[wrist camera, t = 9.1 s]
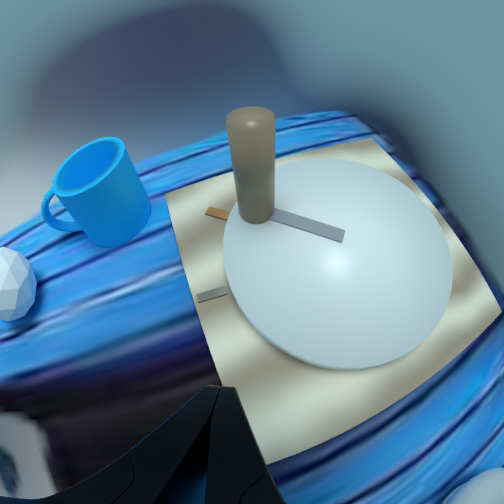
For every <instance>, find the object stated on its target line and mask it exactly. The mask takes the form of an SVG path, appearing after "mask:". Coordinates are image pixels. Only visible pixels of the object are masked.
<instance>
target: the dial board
mask: <svg viewBox="0 0 504 504" xmlns="http://www.w3.org/2000/svg"><path fill="white" fill-rule="evenodd" d="M314 158H335V159H344V160H349V161H355V162H358V163H362V164H365V165H368V166H371V167H374V168H376V169H379V170H381V171H383V172H385V173H387V174H389V175H390V176H392V177H394V178H395V179H397V180H399V181H400V182H402V183H403V184H404V185H406V186H407V187H408V188H410V189H411V190H412V191H413V192H414V193H415V194H416V195H417V196H418V197H419V198H420V199H421V200H422V201H423V202H424V203H425V204H426V205H427V207H428V208H429V209H430V211H431V212H432V213H433V215H434V216H435V218H436V219H437V221H438V223H439V225H440V226H441V228H442V230H443V233H444V235H445V237H446V240H447V243H448V246H449V250H450V254H451V260H452V273H453V279H452V289H451V294H450V298H449V302H448V305H447V307H446V310H445V312H444V314H443V317H442V318H441V320H440V321H439V323H438V325H437V326H436V328H435V329H434V330H433V332H432V333H431V334H430V335H429V336H428V337H427V338H426V339H425V340H424V341H423V342H422V343H421V344H420V345H418V346H417V347H416V348H415V349H413V350H412V351H410V352H408V353H406V354H405V355H403V356H401V357H399V358H397V359H395V360H393V361H391V362H388V363H385V364H382V365H380V366H377V367H372V368H367V369H362V370H334V369H325V368H321V367H317V366H314V365H310V364H307V363H304V362H302V361H300V360H297V359H295V358H293V357H290V356H289V355H287V354H285V353H284V352H282V351H280V350H279V349H277V348H276V347H274V346H273V345H272V344H270V343H269V342H268V341H267V340H266V339H264V338H263V337H262V336H261V335H260V334H259V333H258V332H257V331H256V330H255V329H254V328H253V326H252V325H251V324H250V323H249V322H248V320H247V319H246V318H245V316H244V315H243V313H242V312H241V310H240V309H239V307H238V305H237V303H236V301H235V299H234V296H233V294H232V292H231V288H230V285H229V282H228V279H227V275H226V272H225V267H224V260H223V237H224V231H225V226H226V223H227V220H228V217H229V215H230V213H231V211H232V209H233V207H234V205H235V203H236V202H237V196H236V189H235V182H234V174H233V172H230V173H226V174H223V175H220V176H217V177H214V178H210V179H207V180H204V181H201V182H198V183H195V184H192V185H189V186H186V187H184V188H181V189H178V190H175V191H172V192H169V193H167V194H165V196H166V200H167V204H168V209H169V213H170V217H171V221H172V225H173V229H174V233H175V236H176V240H177V244H178V248H179V251H180V255H181V259H182V262H183V266H184V269H185V273H186V276H187V280H188V283H189V287H190V290H191V293H192V296H193V300H194V303H195V306H196V309H197V313H198V316H199V319H200V322H201V325H202V328H203V331H204V334H205V337H206V340H207V343H208V346H209V349H210V352H211V355H212V357H213V360H214V363H215V366H216V369H217V371H218V374H219V377H220V379H221V382H222V385H223V386H230V387H235V388H236V390H237V392H238V395H239V398H240V400H241V403H242V406H243V408H244V411H245V413H246V416H247V418H248V421H249V424H250V426H251V429H252V431H253V434H254V436H255V438H256V441H257V443H258V446H259V448H260V451H261V453H262V455H263V458H264V460H265V462H266V465H267V464H270V463H273V462H276V461H279V460H281V459H284V458H287V457H289V456H292V455H295V454H297V453H300V452H302V451H304V450H307V449H309V448H311V447H314V446H316V445H318V444H320V443H323V442H325V441H327V440H329V439H331V438H333V437H335V436H337V435H339V434H341V433H343V432H345V431H347V430H349V429H351V428H353V427H355V426H356V425H358V424H360V423H362V422H364V421H365V420H367V419H369V418H371V417H372V416H374V415H376V414H377V413H379V412H381V411H382V410H384V409H386V408H387V407H389V406H390V405H392V404H393V403H395V402H397V401H398V400H400V399H401V398H403V397H404V396H406V395H407V394H408V393H410V392H411V391H413V390H414V389H416V388H417V387H418V386H420V385H421V384H422V383H424V382H425V381H426V380H428V379H429V378H430V377H432V376H433V375H434V374H436V373H437V372H438V371H439V370H441V369H442V368H443V367H444V366H445V365H447V364H448V363H449V362H450V361H451V360H453V359H454V358H455V357H456V356H457V355H458V354H460V353H461V352H462V351H463V350H464V349H465V348H466V347H467V346H468V345H469V344H470V343H472V342H473V341H474V340H475V339H476V338H477V337H478V336H479V335H480V334H481V333H482V332H483V331H484V330H485V329H486V328H487V327H488V326H489V325H490V324H491V323H492V322H493V321H494V319H495V318H496V317H497V316H498V315H499V314H500V313H501V312H502V311H501V309H500V307H499V305H498V303H497V301H496V299H495V297H494V296H493V294H492V292H491V290H490V288H489V287H488V285H487V283H486V281H485V280H484V278H483V276H482V274H481V273H480V271H479V270H478V268H477V266H476V265H475V263H474V261H473V260H472V258H471V257H470V255H469V254H468V252H467V251H466V249H465V248H464V246H463V245H462V243H461V242H460V240H459V239H458V238H457V236H456V235H455V233H454V232H453V231H452V229H451V228H450V226H449V225H448V224H447V222H446V221H445V220H444V218H443V217H442V216H441V214H440V213H439V212H438V211H437V209H436V208H435V207H434V206H433V204H432V203H431V202H430V201H429V199H428V198H427V197H426V196H425V195H424V193H423V192H422V191H421V190H420V189H419V188H418V186H417V185H416V184H415V183H414V182H413V181H412V180H411V178H410V177H409V176H408V175H407V174H406V173H405V172H404V171H403V170H402V169H401V168H400V166H399V165H398V164H397V163H396V162H395V161H394V160H393V159H392V158H391V157H390V156H389V155H388V154H387V153H386V152H385V151H384V150H383V149H382V148H381V147H380V146H379V145H378V144H377V143H376V142H375V141H374V140H373V139H372V138H369V139H364V140H358V141H353V142H348V143H343V144H338V145H334V146H329V147H325V148H320V149H316V150H311V151H307V152H303V153H299V154H295V155H291V156H287V157H283V158H279V159H275V169H276V168H278V167H280V166H283V165H286V164H289V163H292V162H296V161H300V160H305V159H314Z"/></svg>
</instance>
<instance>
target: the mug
mask: <svg viewBox="0 0 504 504" xmlns="http://www.w3.org/2000/svg"><path fill="white" fill-rule="evenodd" d="M54 195H56V196H57V197H58V199H59V200H60V201H61V203H62V204H63V205H64V207H65V208H66V209H67V211H68V212H69V213H70V215H71V216H72V217H73V218H74V220H75V221H76V222H63V221H61V220H58V219H56V218H55V217H53V216H52V215H51V213H50V211H49V202H50V200H51V199H52V197H53V196H54ZM41 210H42V216H43V218H44V220H45V222H46V223H47V224H49V225H50V226H51V227H52V228H55V229H57V230H60V231H68V232H74V231H82V230H83V231H84V232H85V233H86V235H87V236H88V237H89V238H90V240H91V241H92V242H93V243H94V244H96V245H98V246H99V247H105V248H111V247H116V246H120V245H122V244H124V243H126V242H128V241H130V240H131V239H132V238H133V237H135V236H136V235H137V234H138V233H139V232H140V231H141V230H142V228H143V227H144V226H145V224H146V223H147V221H148V218H149V216H150V213H151V203H150V201H149V198H148V196H147V194H146V192H145V189H144V187H143V185H142V183H141V181H140V179H139V177H138V174H137V172H136V170H135V168H134V166H133V163H132V161H131V159H130V156H129V154H128V152H127V150H126V147H125V145H124V143H123V141H122V140H120V139H119V138H114V137H106V138H100V139H97V140H95V141H92V142H90V143H88V144H86V145H84V146H82V147H81V148H79V149H78V150H77V151H75V152H74V153H73V154H71V155H70V156H69V157H68V158H67V159H66V160H65V161H64V162H63V163H62V165H61V166H60V168H59V169H58V170H57V172H56V174H55V176H54V179H53V185H52V187H51V188H50V190H49V191H48V192H47V193H46V195H45V196H44V199H43V202H42V205H41Z"/></svg>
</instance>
